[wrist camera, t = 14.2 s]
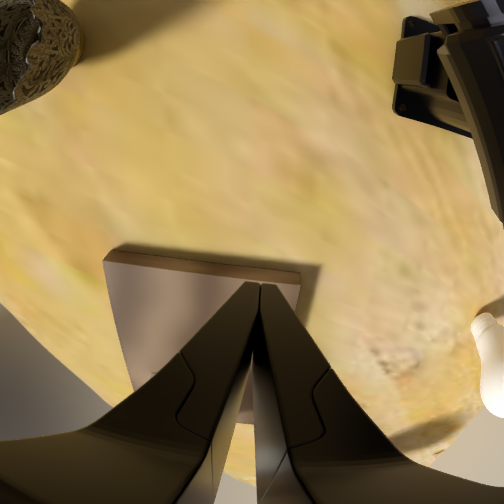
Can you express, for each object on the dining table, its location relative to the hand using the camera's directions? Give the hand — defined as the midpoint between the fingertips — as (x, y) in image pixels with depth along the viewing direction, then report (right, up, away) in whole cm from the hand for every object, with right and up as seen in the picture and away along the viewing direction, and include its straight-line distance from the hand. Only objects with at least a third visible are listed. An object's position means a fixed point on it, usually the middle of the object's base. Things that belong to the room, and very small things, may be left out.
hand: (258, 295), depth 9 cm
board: (-5, -8, +19) cm, 21 cm away
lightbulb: (+21, -5, +15) cm, 26 cm away
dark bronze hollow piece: (-12, +15, +7) cm, 20 cm away
